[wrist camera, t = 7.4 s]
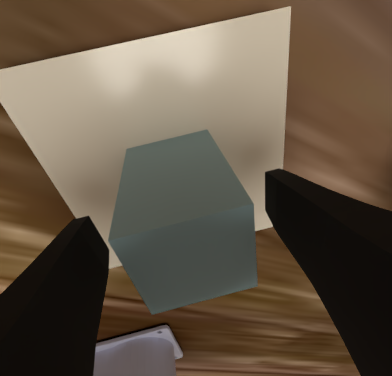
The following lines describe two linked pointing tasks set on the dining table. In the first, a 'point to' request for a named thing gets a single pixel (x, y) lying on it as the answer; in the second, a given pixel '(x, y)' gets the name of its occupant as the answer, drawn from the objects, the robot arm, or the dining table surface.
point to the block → (183, 223)
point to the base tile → (156, 107)
